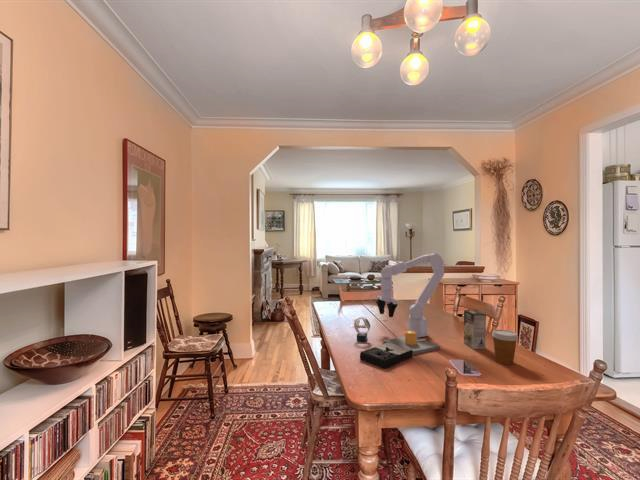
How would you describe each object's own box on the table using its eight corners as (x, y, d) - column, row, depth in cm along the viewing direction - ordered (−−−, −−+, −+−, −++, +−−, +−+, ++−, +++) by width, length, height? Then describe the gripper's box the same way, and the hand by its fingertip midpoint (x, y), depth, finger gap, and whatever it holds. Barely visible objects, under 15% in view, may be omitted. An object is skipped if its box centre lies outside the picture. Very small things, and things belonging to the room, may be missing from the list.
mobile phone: (467, 359, 139) (482, 374, 124) (467, 361, 139) (482, 376, 124) (448, 358, 139) (461, 373, 124) (448, 361, 139) (461, 376, 124)
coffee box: (462, 342, 162) (463, 309, 162) (475, 342, 162) (476, 309, 162) (472, 349, 153) (473, 314, 153) (486, 349, 153) (486, 313, 153)
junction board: (412, 338, 169) (412, 333, 169) (439, 349, 153) (439, 344, 153) (383, 343, 161) (383, 338, 161) (409, 355, 145) (409, 350, 145)
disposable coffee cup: (487, 357, 143) (487, 329, 143) (510, 357, 143) (510, 329, 142) (498, 365, 133) (498, 335, 133) (522, 366, 133) (523, 336, 133)
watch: (369, 342, 162) (369, 319, 162) (353, 340, 164) (353, 318, 164) (371, 339, 168) (371, 317, 167) (355, 337, 170) (355, 315, 170)
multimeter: (359, 360, 140) (359, 348, 140) (388, 350, 152) (388, 339, 152) (384, 370, 130) (384, 357, 130) (413, 358, 142) (413, 346, 142)
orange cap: (411, 340, 160) (411, 330, 160) (418, 343, 156) (418, 333, 156) (403, 342, 158) (403, 331, 158) (410, 345, 153) (410, 334, 153)
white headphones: (368, 327, 190) (368, 320, 190) (357, 329, 185) (357, 322, 185) (357, 324, 197) (357, 317, 197) (347, 326, 193) (347, 319, 193)
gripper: (372, 288, 182) (372, 313, 182) (389, 292, 169) (389, 319, 169) (382, 287, 185) (382, 311, 185) (400, 291, 172) (400, 317, 172)
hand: (386, 315), depth 178 cm, fingers open, 7 cm apart
